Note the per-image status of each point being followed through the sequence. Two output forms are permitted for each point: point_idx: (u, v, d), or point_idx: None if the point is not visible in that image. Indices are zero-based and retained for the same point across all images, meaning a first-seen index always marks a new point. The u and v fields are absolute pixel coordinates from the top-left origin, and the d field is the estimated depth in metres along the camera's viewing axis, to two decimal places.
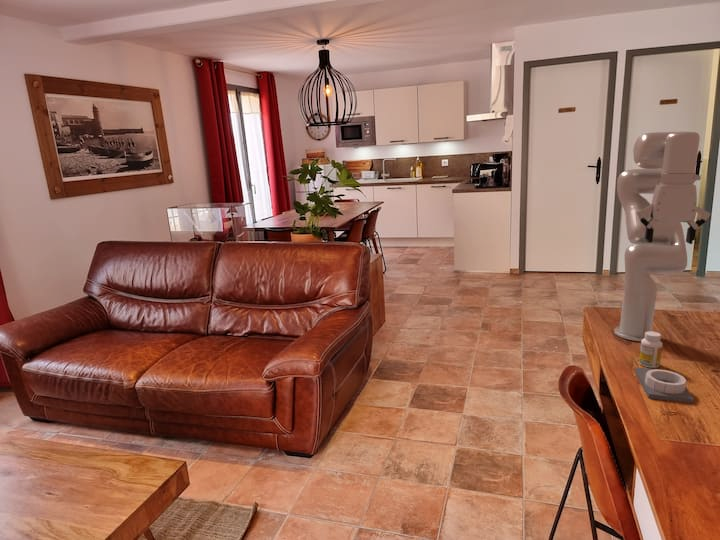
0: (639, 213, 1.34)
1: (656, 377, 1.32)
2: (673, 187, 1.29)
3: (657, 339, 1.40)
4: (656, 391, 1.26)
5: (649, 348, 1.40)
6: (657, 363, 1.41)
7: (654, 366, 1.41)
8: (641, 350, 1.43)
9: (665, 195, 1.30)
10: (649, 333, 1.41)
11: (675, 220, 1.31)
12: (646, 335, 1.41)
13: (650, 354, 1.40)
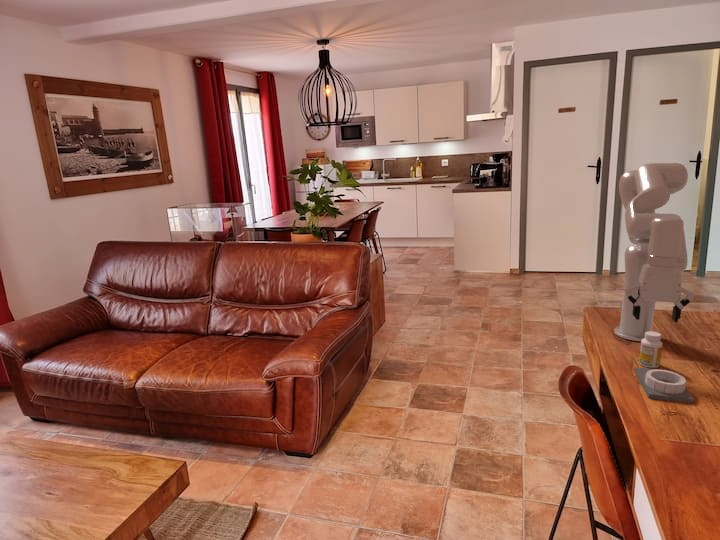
0: (627, 291, 1.40)
1: (656, 377, 1.32)
2: (659, 269, 1.34)
3: (657, 339, 1.40)
4: (656, 391, 1.26)
5: (649, 348, 1.40)
6: (657, 363, 1.41)
7: (654, 366, 1.41)
8: (641, 350, 1.43)
9: (651, 276, 1.35)
10: (649, 333, 1.41)
11: (661, 300, 1.36)
12: (646, 335, 1.41)
13: (650, 354, 1.40)
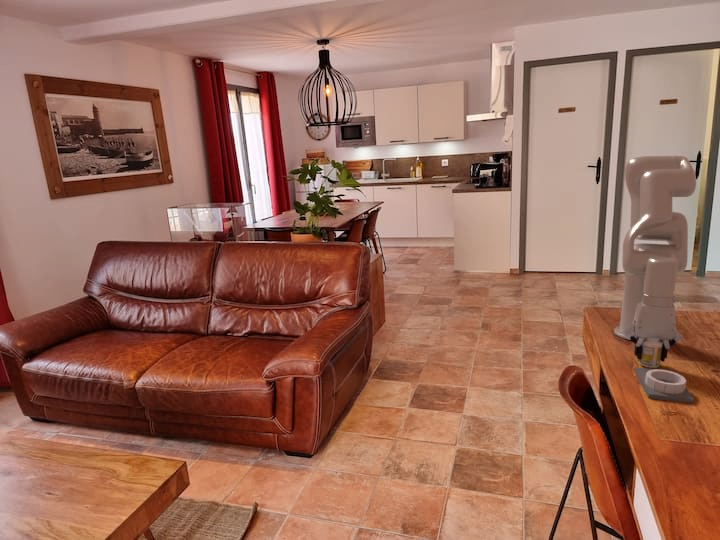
0: (626, 333, 1.43)
1: (656, 377, 1.32)
2: (653, 308, 1.37)
3: (657, 339, 1.40)
4: (656, 391, 1.26)
5: (649, 348, 1.40)
6: (657, 363, 1.41)
7: (654, 366, 1.41)
8: None
9: (646, 314, 1.38)
10: None
11: (655, 337, 1.39)
12: None
13: (650, 354, 1.40)
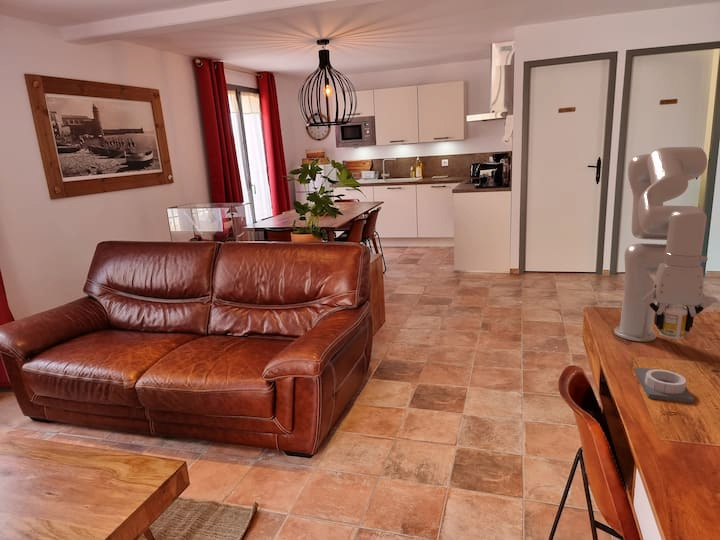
0: (645, 300, 1.24)
1: (656, 377, 1.32)
2: (678, 269, 1.19)
3: (681, 305, 1.21)
4: (656, 391, 1.26)
5: (673, 316, 1.22)
6: (681, 333, 1.22)
7: (678, 337, 1.22)
8: None
9: (669, 277, 1.20)
10: None
11: (680, 303, 1.21)
12: None
13: (673, 323, 1.22)
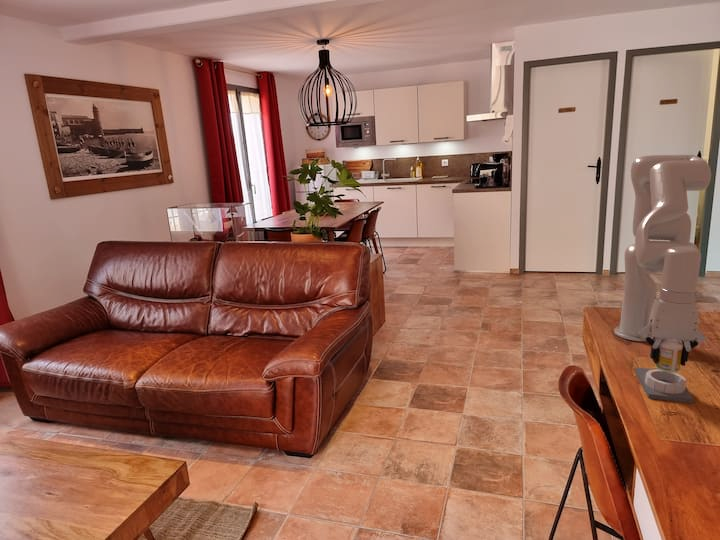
0: (641, 334, 1.27)
1: (656, 377, 1.32)
2: (673, 305, 1.21)
3: (677, 340, 1.23)
4: (656, 391, 1.26)
5: (668, 351, 1.24)
6: (676, 367, 1.24)
7: (673, 371, 1.24)
8: None
9: (664, 312, 1.22)
10: None
11: (675, 338, 1.23)
12: None
13: (669, 357, 1.24)
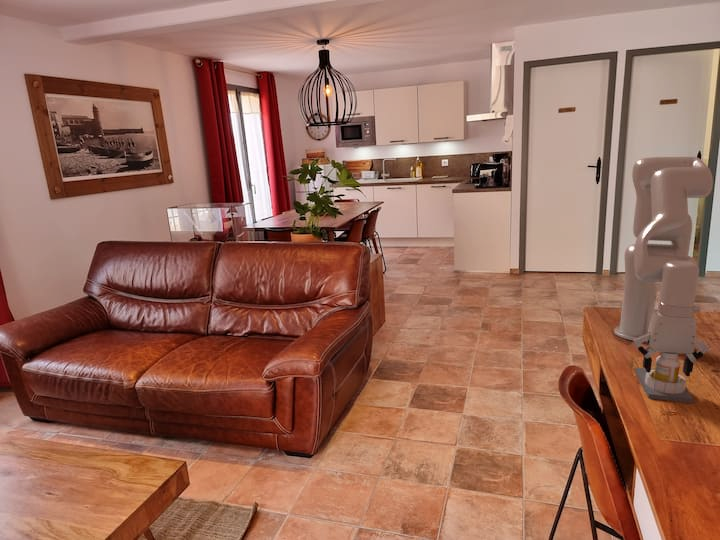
0: (636, 342, 1.27)
1: None
2: (671, 319, 1.22)
3: (674, 358, 1.25)
4: (656, 391, 1.26)
5: (665, 368, 1.25)
6: None
7: None
8: (656, 369, 1.28)
9: (663, 326, 1.23)
10: None
11: (673, 351, 1.24)
12: (662, 353, 1.26)
13: (666, 374, 1.25)
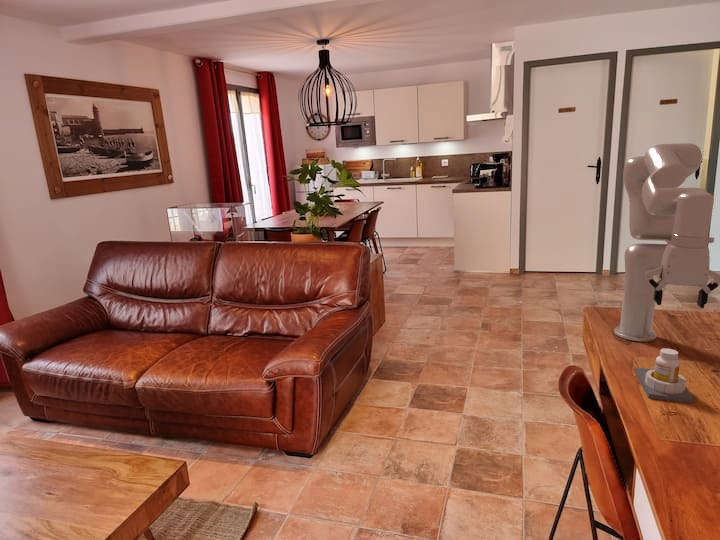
0: (648, 274, 1.27)
1: None
2: (684, 250, 1.21)
3: (674, 357, 1.25)
4: (656, 391, 1.26)
5: (665, 368, 1.25)
6: None
7: None
8: (656, 369, 1.28)
9: (676, 258, 1.23)
10: (665, 350, 1.27)
11: (686, 284, 1.24)
12: (662, 353, 1.26)
13: (666, 374, 1.25)
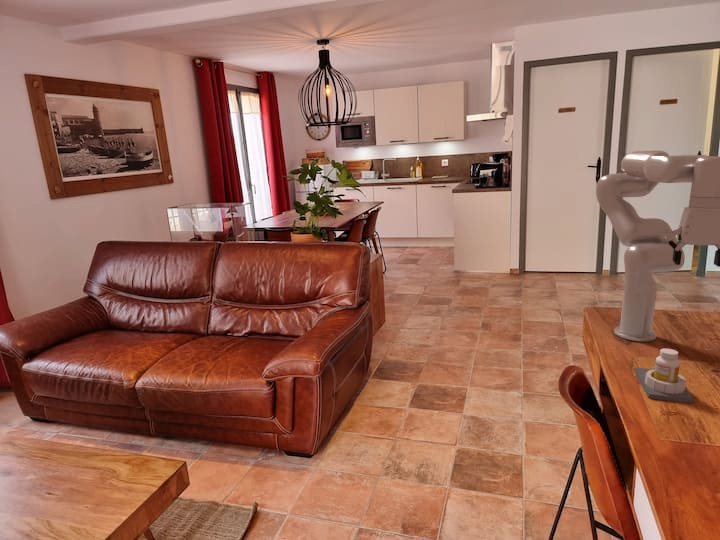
0: (667, 236, 1.35)
1: None
2: (702, 211, 1.30)
3: (674, 357, 1.25)
4: (656, 391, 1.26)
5: (665, 368, 1.25)
6: None
7: None
8: (656, 369, 1.28)
9: (694, 218, 1.31)
10: (665, 350, 1.27)
11: (704, 243, 1.32)
12: (662, 353, 1.26)
13: (666, 374, 1.25)
